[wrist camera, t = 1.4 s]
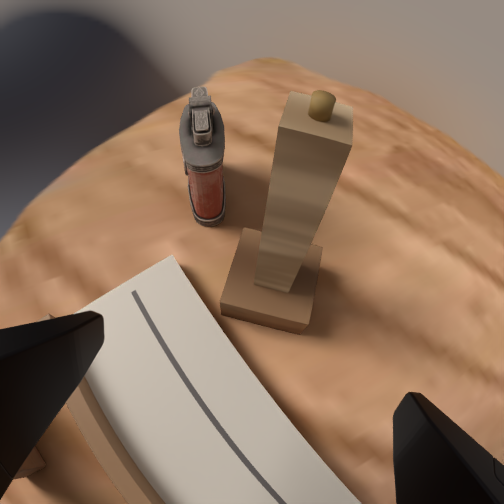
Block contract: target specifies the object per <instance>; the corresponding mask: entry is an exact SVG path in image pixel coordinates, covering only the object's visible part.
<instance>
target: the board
mask: <svg viewBox="0 0 504 504" xmlns="http://www.w3.org/2000/svg"><path fill="white" fill-rule="evenodd" d="M89 310H92V311H94V312H97V313H99V314H101V315H102V316H103V318H104V335H105V339H104V343H103V345H102V347H101V349H100V351H99V352H98V354H97V355H96V357H95V359H94V360H93V362H92V364H91V366H90V367H89V369H88V371H87V372H86V374H85V376H84V377H83V379H82V381H81V382H80V384H79V385H78V386H77V388H76V389H75V391H74V392H73V393H72V395H71V396H70V397H69V399H68V400H67V401H66V404H67V406H68V408H69V410H70V412H71V414H72V416H73V418H74V420H75V422H76V424H77V426H78V427H79V429H80V431H81V433H82V435H83V437H84V438H85V440H86V442H87V443H88V445H89V447H90V449H91V450H92V452H93V454H94V455H95V457H96V458H97V460H98V462H99V463H100V465H101V466H102V468H103V469H104V471H105V472H106V474H107V475H108V477H109V478H110V480H111V481H112V483H113V484H114V485H115V487H116V488H117V490H118V491H119V492H120V494H121V495H122V496H123V498H124V499H125V500H126V502H127V503H128V504H362V503H361V502H360V501H359V500H358V499H357V498H356V497H355V496H354V495H353V494H352V493H351V492H350V491H349V489H348V488H347V487H346V486H345V485H344V484H343V483H342V482H341V481H340V480H339V478H338V477H337V476H336V475H335V474H334V473H333V472H332V471H331V469H330V468H329V467H328V466H327V465H326V464H325V462H324V461H323V460H322V459H321V458H320V457H319V455H318V454H317V453H316V452H315V451H314V450H313V448H312V447H311V446H310V445H309V444H308V442H307V441H306V440H305V439H304V438H303V436H302V435H301V434H300V433H299V431H298V430H297V429H296V428H295V427H294V425H293V424H292V423H291V422H290V420H289V419H288V418H287V417H286V415H285V414H284V413H283V412H282V410H281V409H280V408H279V406H278V405H277V404H276V403H275V401H274V400H273V399H272V397H271V396H270V395H269V393H268V392H267V391H266V390H265V388H264V387H263V386H262V384H261V383H260V382H259V380H258V379H257V378H256V376H255V375H254V374H253V372H252V371H251V370H250V368H249V367H248V365H247V364H246V363H245V361H244V360H243V359H242V357H241V356H240V354H239V353H238V352H237V350H236V349H235V348H234V346H233V345H232V343H231V342H230V340H229V339H228V338H227V336H226V335H225V333H224V332H223V331H222V329H221V328H220V326H219V325H218V323H217V322H216V320H215V319H214V317H213V316H212V315H211V313H210V312H209V310H208V309H207V307H206V306H205V304H204V303H203V301H202V300H201V298H200V297H199V295H198V294H197V292H196V291H195V289H194V288H193V286H192V285H191V283H190V282H189V280H188V278H187V277H186V275H185V274H184V272H183V271H182V269H181V268H180V266H179V264H178V263H177V261H176V260H175V258H174V256H173V255H170V256H169V257H167V258H165V259H164V260H162V261H160V262H158V263H157V264H155V265H153V266H152V267H150V268H148V269H146V270H145V271H143V272H141V273H140V274H138V275H136V276H135V277H133V278H131V279H130V280H128V281H126V282H125V283H123V284H121V285H120V286H118V287H116V288H115V289H113V290H111V291H110V292H108V293H106V294H105V295H103V296H102V297H100V298H98V299H97V300H95V301H93V302H92V303H90V304H89V305H87V306H85V307H84V308H82V309H81V310H79V311H77V312H76V313H80V312H85V311H89ZM76 313H74V314H76ZM53 318H55V317H53V316H52V315H50V314H47V315H46V316H44V317H43V318H41V319H40V320H38V321H43V320H48V319H53ZM38 321H37V322H38Z"/></svg>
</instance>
